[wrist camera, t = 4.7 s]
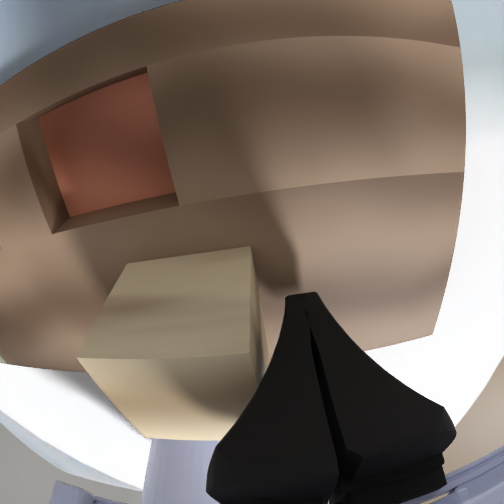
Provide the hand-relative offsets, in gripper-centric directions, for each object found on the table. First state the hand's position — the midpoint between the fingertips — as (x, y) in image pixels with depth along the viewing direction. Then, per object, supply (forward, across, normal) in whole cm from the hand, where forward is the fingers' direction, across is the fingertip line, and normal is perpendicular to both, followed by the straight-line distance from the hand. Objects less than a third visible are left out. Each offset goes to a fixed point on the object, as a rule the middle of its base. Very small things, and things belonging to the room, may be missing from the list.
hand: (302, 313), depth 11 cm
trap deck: (+3, +11, -3) cm, 12 cm away
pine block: (+1, +4, 0) cm, 4 cm away
